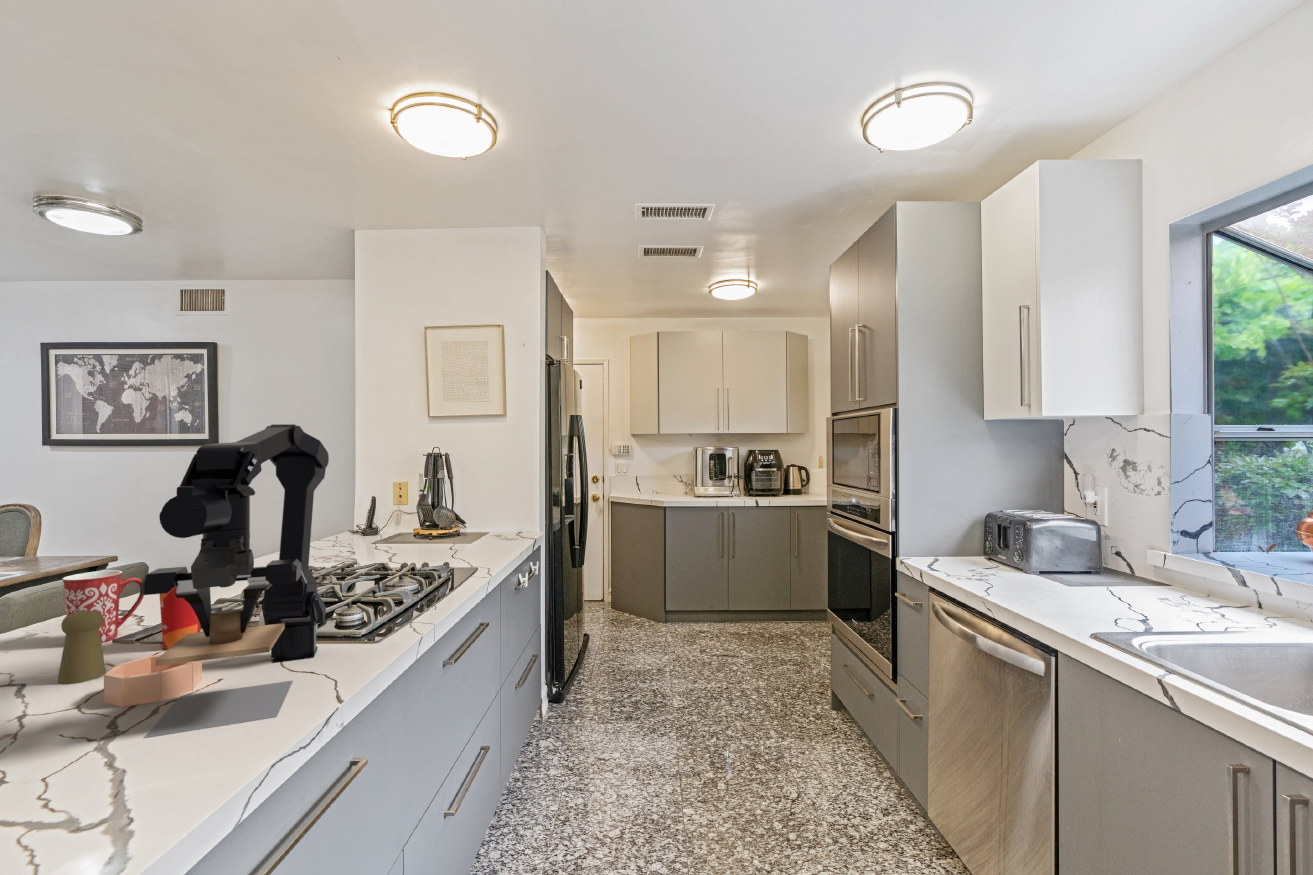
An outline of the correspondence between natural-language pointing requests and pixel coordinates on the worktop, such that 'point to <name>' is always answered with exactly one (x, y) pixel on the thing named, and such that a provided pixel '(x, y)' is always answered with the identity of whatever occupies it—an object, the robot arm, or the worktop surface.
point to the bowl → (149, 681)
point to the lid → (222, 640)
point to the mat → (222, 708)
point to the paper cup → (176, 618)
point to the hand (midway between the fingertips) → (226, 634)
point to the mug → (99, 598)
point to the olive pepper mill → (82, 648)
